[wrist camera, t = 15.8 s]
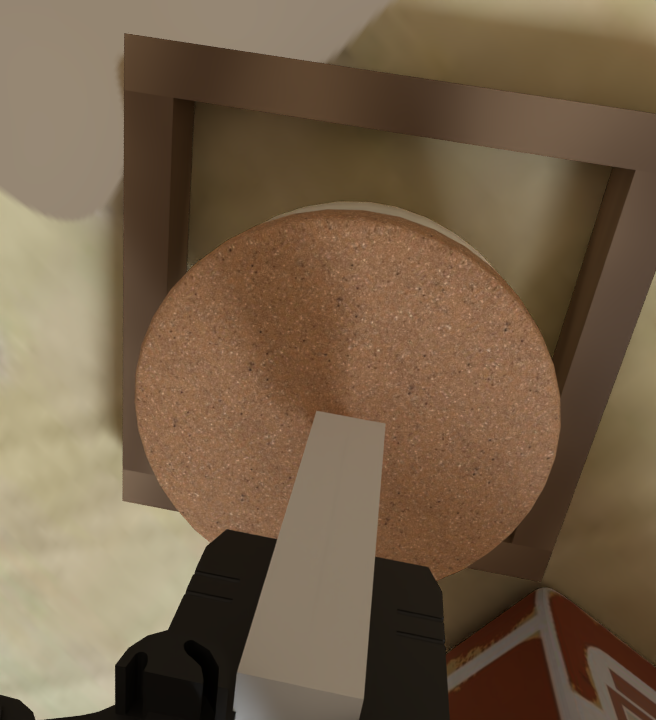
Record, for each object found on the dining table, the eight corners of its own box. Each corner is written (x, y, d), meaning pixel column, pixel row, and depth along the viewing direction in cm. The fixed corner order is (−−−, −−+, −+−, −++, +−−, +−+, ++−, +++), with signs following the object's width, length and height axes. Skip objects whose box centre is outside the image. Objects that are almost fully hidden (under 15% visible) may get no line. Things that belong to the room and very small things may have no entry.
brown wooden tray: (142, 472, 26) (122, 500, 24) (151, 39, 19) (124, 33, 18) (531, 546, 25) (541, 582, 23) (681, 119, 19) (710, 121, 17)
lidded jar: (385, 102, 19) (367, 106, 11) (572, 352, 22) (678, 517, 13) (159, 302, 23) (11, 424, 14) (341, 497, 25) (307, 700, 17)
